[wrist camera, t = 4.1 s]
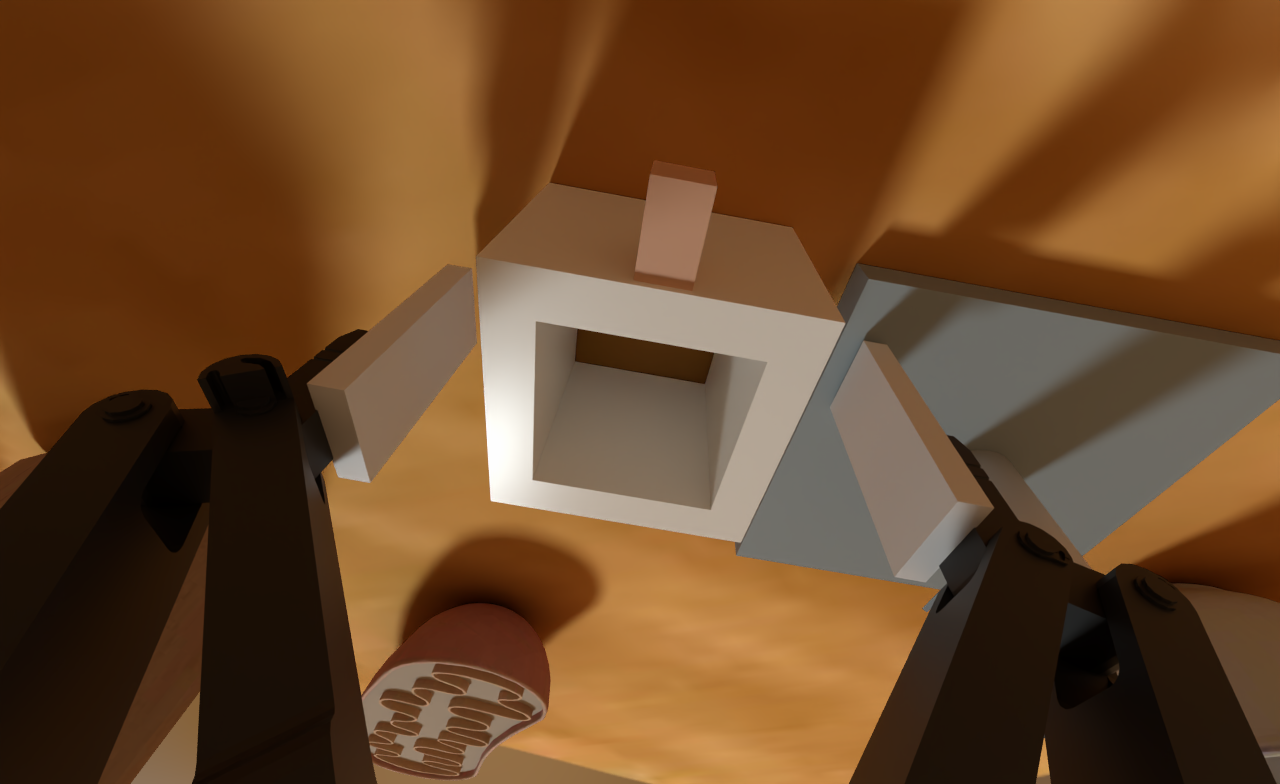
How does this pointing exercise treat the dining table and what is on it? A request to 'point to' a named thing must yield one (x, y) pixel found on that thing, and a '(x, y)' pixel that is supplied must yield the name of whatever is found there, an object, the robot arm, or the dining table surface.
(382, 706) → the anatomical model
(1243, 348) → the board
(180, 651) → the wooden block
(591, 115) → the dining table surface
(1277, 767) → the teacup
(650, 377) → the white square sleeve
